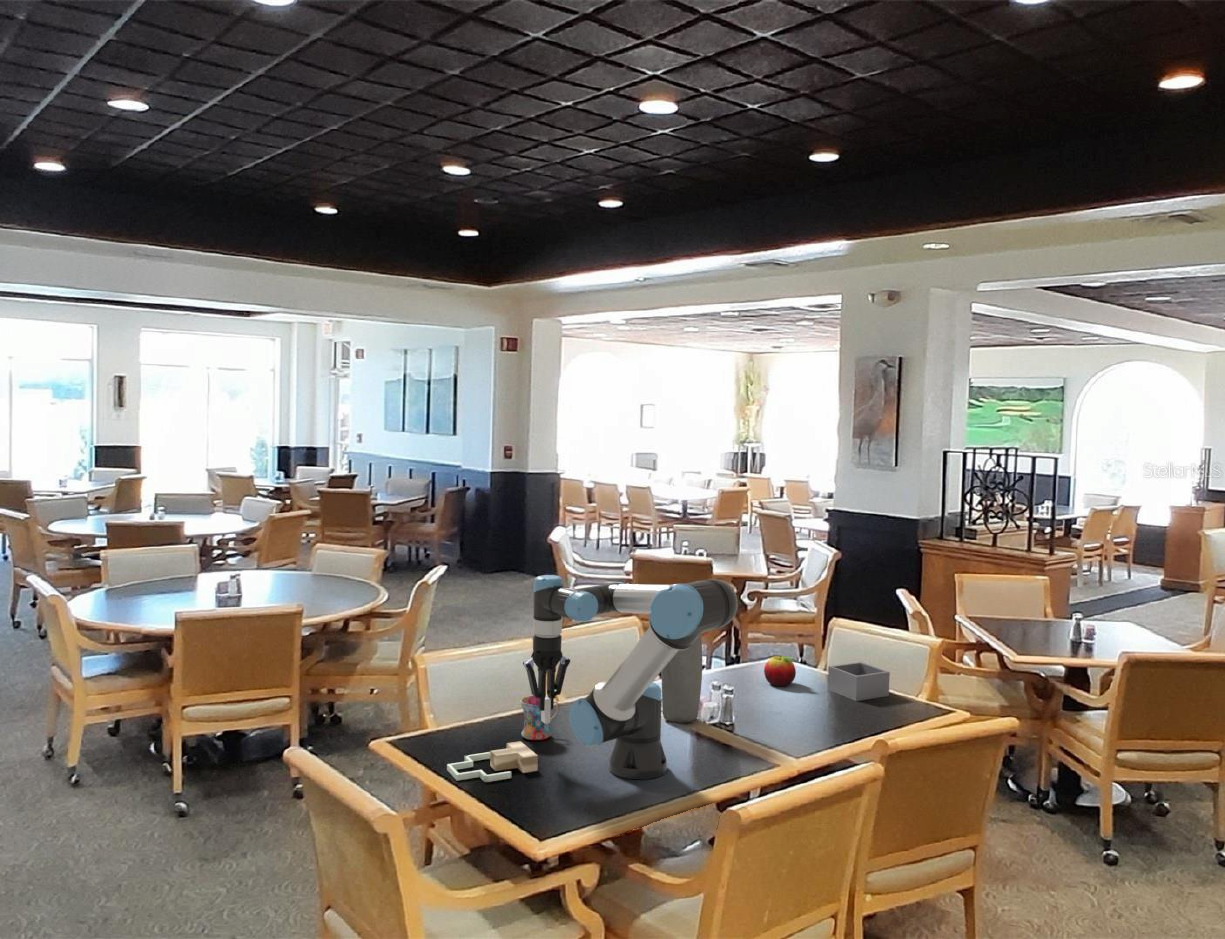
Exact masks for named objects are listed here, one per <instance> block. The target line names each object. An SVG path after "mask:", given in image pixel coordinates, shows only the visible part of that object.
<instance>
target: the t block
mask: <svg viewBox="0 0 1225 939" xmlns="http://www.w3.org/2000/svg"><path fill="white" fill-rule="evenodd" d="M489 752H490V759H489V761H490V762H489V763H490V765H489V766H490V767H491V768H492V769H493V771H495V772H498V771H504V770H505V771H506V770H512V769H518V770H519V771H520V772H522V774H525V773H526V774H527V773H532V772H537V771H538V767H539V766H538V764H539V763H538V762H539V758H538V757H539V755H538V754H536V753H535V752H534V751H533V750H532V749H530V748H529V747H528V746H527V745H526V744H524V742H522V741H521V740H519V741H514V742H512V741H511V742H507V743H506V748H501V749H494V750H489Z"/></svg>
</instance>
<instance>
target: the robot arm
mask: <svg viewBox="0 0 1225 939" xmlns="http://www.w3.org/2000/svg"><path fill="white" fill-rule="evenodd" d="M563 582H564V581H563V578H562V577H561V576H559V575H556V574H544V575H538V576H536V577H535V579H534V585H533V592H532V593H533V621H532V622H533V627H532V628H533V630H532V632H533V636H532V654H531V656H530V659H529V658H528V660H527V661H526V660H524V661H523V662H522V665H523V666H524V668H525V670H526V673H527V679H528V683H529V688H530V692H531V696H535V697H536V698H538V708H539V710H540V711H541V721H542V722H544V723H545V724H547V723H550V724H551V721H550V718H551V710H554V704H555V703H554V702H555V700H554V699H556V696H559V695H561V693H562V689H563V686H564V681H565V676H566V672H567V670H568V669H567V668H568V666H569V665H570V664H571V659H570V658H568V657H567V656H564V655H563V652H562V641H563V640H562V639H563V638H562V635H561V634H562V631H563V628H562V627H563V618H566V619H570V620H571V621H576V622H583V623H584V622H585V623H586V622H589V621H591V620H592V619H593V618H594V617H596V616H599V615H603V614H609V613H610V614H611V613H613V614H614V613H615V614H641V615H649V617H648V625H649V627H648V629H646V631H645V633H643V635H642V636H641V637H640V638H639V640H638V642H637V643H636V644H635V645H634V646H633V648H632V649H631V650H630V652H628V654H627V655H626V656H625V658H624V659H623V661H622V662H621V663H620V664H619V666H618V667H617V668H616V669H615V671H614V672H613V673H612V674H611V676H610V677H609V678H608V680H602V681H600V682H599V683H597V684H596V685H595V686H594V687H593V689H592V690H591V692H590V693H588V695H587V696H586V697H581V698H578V699H576V700H574V702H572V704H571V706H570V708H569V716H568V717H569V723H570V724H569V725H570V727H571V730H572V732H573V734H574V736H575V737H576V739H578V741H579V742H580V743H582V744H583V745H586V746H588V747H592V746H599V745H601V744H604V743H607V742H610V741H613V740H615V741H614V744H613V747H612V750H611V753H610V756H609V759H608V770H609V772H610V773H611V774H613V775H615V776H617V777H621V778H623V779H630V780H650V779H655V778H659V777H661V776H663V775H665V773H666V772H667V769H668V768H667V767H668V763H667V757H666V754H665V750H664V747H663V743H662V741H661V738H662V737H661V736H662V731H661V730H662V688H661V687H660V686H659V684H657V683H655V682H654V681H655V680H656V678H657V677H658V676H659V675H660V674H661V671H662V670H663V669H664V667H665V666H666V665H667V664H668V663H669V661H670V660H671V659H672V658H673V656H674V655H675V654H676V653H677V652H678V650H686V649H688V648H689V647H690V646H691V645H692V644H693V643H694V641H695V640H696V639H697V638H698V637H699V635H700V634H701V635H702V634H703V633H705V632H710V631H714V630H717V629H722V628H723V627H725V626H727V625H728V624H729V623H730V622H731V621H732V620H733V619H734V618H735V616H736V614H737V611H738V602H739V601H738V597H737V594H736V592H735V590H734V589H733V588H732V586H731V585H730V584H729V583H727V582H726V581H724V580H721V579H718V578H717V579H716V578H707V579H703V580H696V581H692V582H685V583H674V584H648V583H646V584H643V583H642V584H641V583H638V584H637V583H635V584H634V583H625V582H621V581H620V582H616V581H615V582H609V583H605V584H601V585H593V586H587V587H582V588H581V587H580V588H569V587H566V586H564V583H563ZM558 664H559V665H558ZM534 665H536V667H537V672H538V673H537V678H536V675H535V674H536V673H535V670H534V667H535V666H534ZM557 666H558V668H557Z"/></svg>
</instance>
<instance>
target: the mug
mask: <svg viewBox="0 0 1225 939" xmlns="http://www.w3.org/2000/svg"><path fill="white" fill-rule="evenodd" d="M519 702H520V705H521V707H522V710H523V715H524V716H523V717H524V724H523V729H522V731H521V733H520V734H521V736H522V738H524V739H527V740H531V741H543V740H545V739H549V737H551V736H552V732H551V729H550V725H551V721H553V720H554V718H555V717H556V716H557V714H558V713H559V711H560V706H561V705H560V703H559V702H558V701H554V704H556V705H557V710H556V712H555V713H554V714H553V716H552V717H551V716H550V723H547V724H545V723H544V722H542V721H541V711H540V710H539V708H538V698H536V697H535V696H533V695H529V696H524V697H522V698H521V699H520V701H519Z"/></svg>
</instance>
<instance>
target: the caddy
mask: <svg viewBox="0 0 1225 939" xmlns="http://www.w3.org/2000/svg"><path fill="white" fill-rule="evenodd" d="M827 667H828V670H827V671H828V673H827V690H828V691H830V692H833V693H835V694H837V695H840V696H843V697H845V698H847V699H849V700H853V701H854V702H858V701H859V702H860V701H864V700H866V701H867V700H871V699H877V698H884V697H889V696H890V676H891V675H890V673H891V672H890V671H888V670H886V669H882V668H880V667H877V666H873V665H870V664H868V663H865V662H862V661H858V662H850V663H843V664H834V665H828V666H827Z"/></svg>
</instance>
